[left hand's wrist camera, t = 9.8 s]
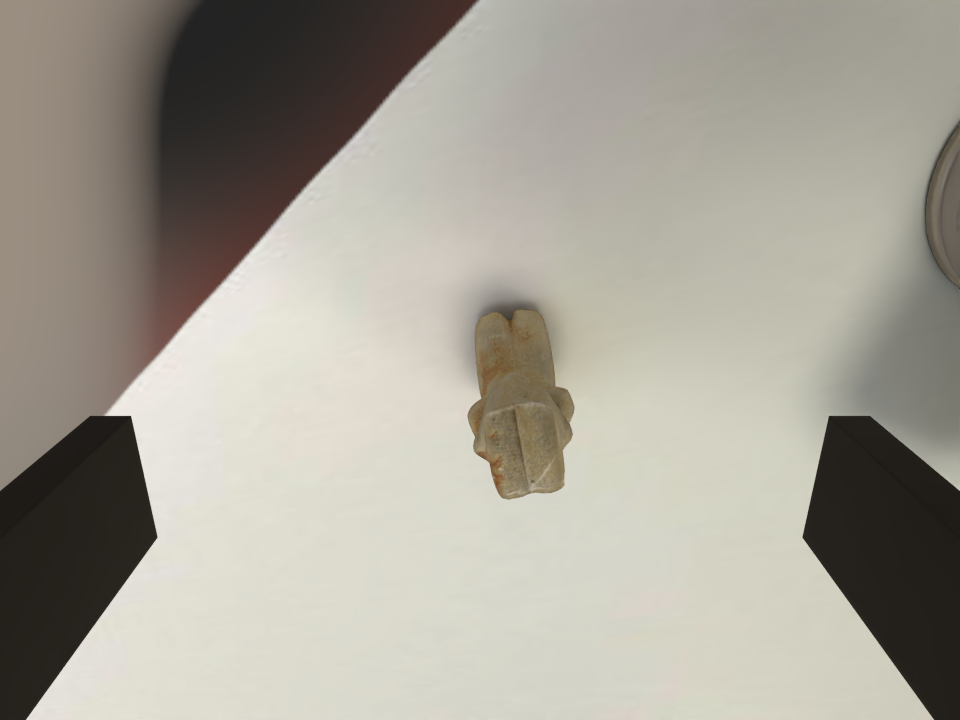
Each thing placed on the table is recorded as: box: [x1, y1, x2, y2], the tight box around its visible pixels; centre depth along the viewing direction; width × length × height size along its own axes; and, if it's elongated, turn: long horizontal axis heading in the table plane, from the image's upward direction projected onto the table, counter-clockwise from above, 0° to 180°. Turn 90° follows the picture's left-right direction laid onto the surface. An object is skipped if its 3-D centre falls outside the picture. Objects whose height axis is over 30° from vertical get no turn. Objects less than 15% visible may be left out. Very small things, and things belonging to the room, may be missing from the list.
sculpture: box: [468, 309, 574, 499], centre depth 38 cm, size 6×7×15 cm
